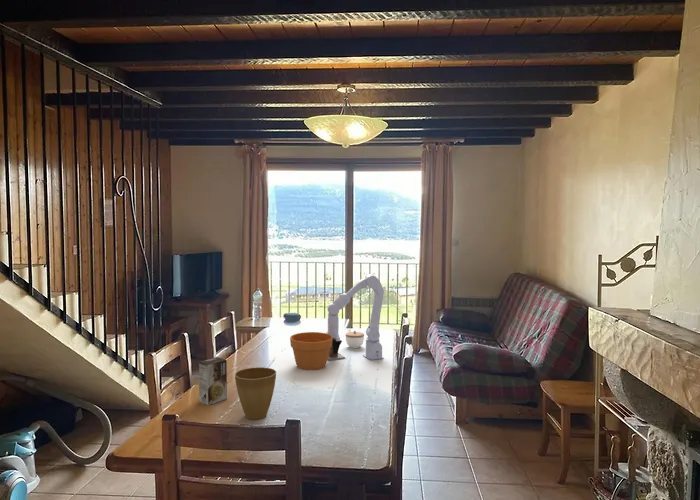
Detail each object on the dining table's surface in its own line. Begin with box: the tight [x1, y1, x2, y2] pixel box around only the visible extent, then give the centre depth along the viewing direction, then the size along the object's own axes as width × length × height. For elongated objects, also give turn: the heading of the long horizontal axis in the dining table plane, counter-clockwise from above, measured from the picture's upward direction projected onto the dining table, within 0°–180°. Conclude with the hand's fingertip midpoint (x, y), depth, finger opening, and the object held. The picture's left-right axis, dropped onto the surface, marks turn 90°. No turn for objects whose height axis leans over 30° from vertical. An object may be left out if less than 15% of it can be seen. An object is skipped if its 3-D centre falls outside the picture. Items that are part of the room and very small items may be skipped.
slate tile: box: [327, 352, 346, 361], centre depth 260 cm, size 10×10×1 cm
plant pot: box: [234, 366, 277, 420], centre depth 178 cm, size 15×15×16 cm
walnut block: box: [328, 346, 339, 357], centre depth 259 cm, size 4×4×5 cm
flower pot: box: [289, 331, 333, 371], centre depth 243 cm, size 21×21×15 cm
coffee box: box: [198, 356, 228, 406], centre depth 193 cm, size 9×6×16 cm
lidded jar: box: [345, 330, 365, 349], centre depth 282 cm, size 11×11×9 cm
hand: (332, 351), depth 259 cm, fingers open, 7 cm apart
